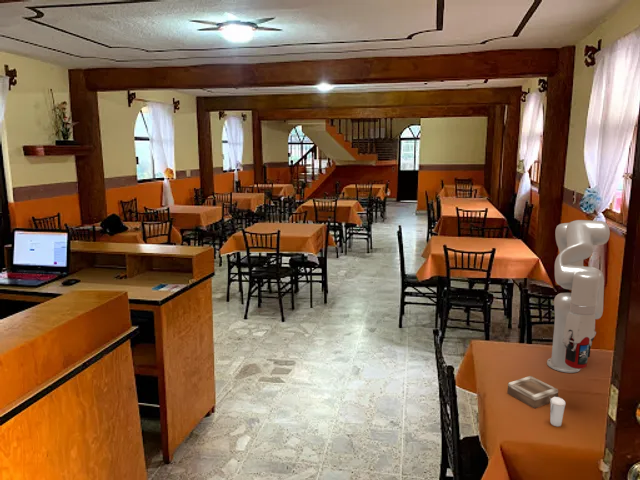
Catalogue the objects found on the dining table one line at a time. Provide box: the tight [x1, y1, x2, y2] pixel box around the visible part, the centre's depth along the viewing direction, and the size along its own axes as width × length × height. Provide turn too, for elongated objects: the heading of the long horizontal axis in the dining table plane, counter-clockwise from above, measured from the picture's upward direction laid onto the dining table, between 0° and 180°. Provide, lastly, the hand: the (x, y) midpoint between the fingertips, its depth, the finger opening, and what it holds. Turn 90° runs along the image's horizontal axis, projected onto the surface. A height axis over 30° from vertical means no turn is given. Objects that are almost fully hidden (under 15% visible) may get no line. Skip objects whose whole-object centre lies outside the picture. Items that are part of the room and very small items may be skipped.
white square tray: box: [507, 375, 559, 409], centre depth 179 cm, size 12×12×4 cm
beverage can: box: [565, 337, 590, 370], centre depth 166 cm, size 7×7×12 cm
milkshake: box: [549, 396, 566, 427], centre depth 161 cm, size 4×5×10 cm
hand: (577, 357), depth 167 cm, fingers closed on beverage can, 6 cm apart
